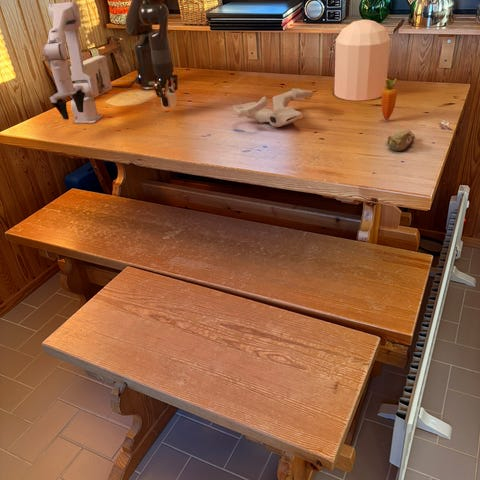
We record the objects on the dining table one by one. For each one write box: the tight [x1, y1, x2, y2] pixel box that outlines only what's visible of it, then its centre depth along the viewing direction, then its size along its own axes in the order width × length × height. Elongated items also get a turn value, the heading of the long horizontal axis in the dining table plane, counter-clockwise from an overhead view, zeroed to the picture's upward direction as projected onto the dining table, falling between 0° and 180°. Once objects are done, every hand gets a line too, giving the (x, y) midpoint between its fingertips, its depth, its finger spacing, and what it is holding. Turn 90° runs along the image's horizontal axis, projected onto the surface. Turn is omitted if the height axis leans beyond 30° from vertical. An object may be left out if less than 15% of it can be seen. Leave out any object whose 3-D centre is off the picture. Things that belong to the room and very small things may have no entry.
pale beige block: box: [159, 91, 178, 109], centre depth 187 cm, size 5×5×4 cm
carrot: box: [380, 78, 398, 122], centre depth 161 cm, size 5×5×15 cm
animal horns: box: [231, 88, 314, 128], centre depth 171 cm, size 28×26×12 cm
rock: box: [387, 129, 416, 152], centre depth 146 cm, size 11×6×10 cm
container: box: [333, 19, 391, 102], centre depth 186 cm, size 21×21×28 cm
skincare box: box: [69, 54, 113, 99], centre depth 218 cm, size 21×6×16 cm, turn 158°
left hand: (73, 115), depth 173 cm, fingers open, 7 cm apart
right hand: (169, 104), depth 188 cm, fingers closed on pale beige block, 4 cm apart
